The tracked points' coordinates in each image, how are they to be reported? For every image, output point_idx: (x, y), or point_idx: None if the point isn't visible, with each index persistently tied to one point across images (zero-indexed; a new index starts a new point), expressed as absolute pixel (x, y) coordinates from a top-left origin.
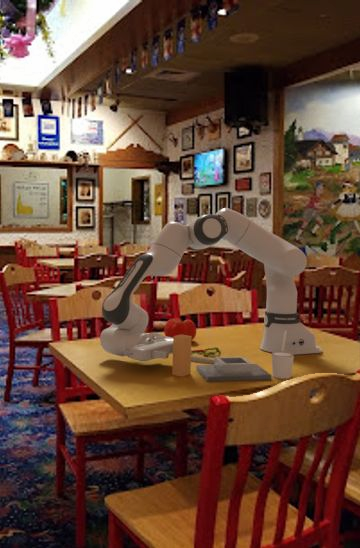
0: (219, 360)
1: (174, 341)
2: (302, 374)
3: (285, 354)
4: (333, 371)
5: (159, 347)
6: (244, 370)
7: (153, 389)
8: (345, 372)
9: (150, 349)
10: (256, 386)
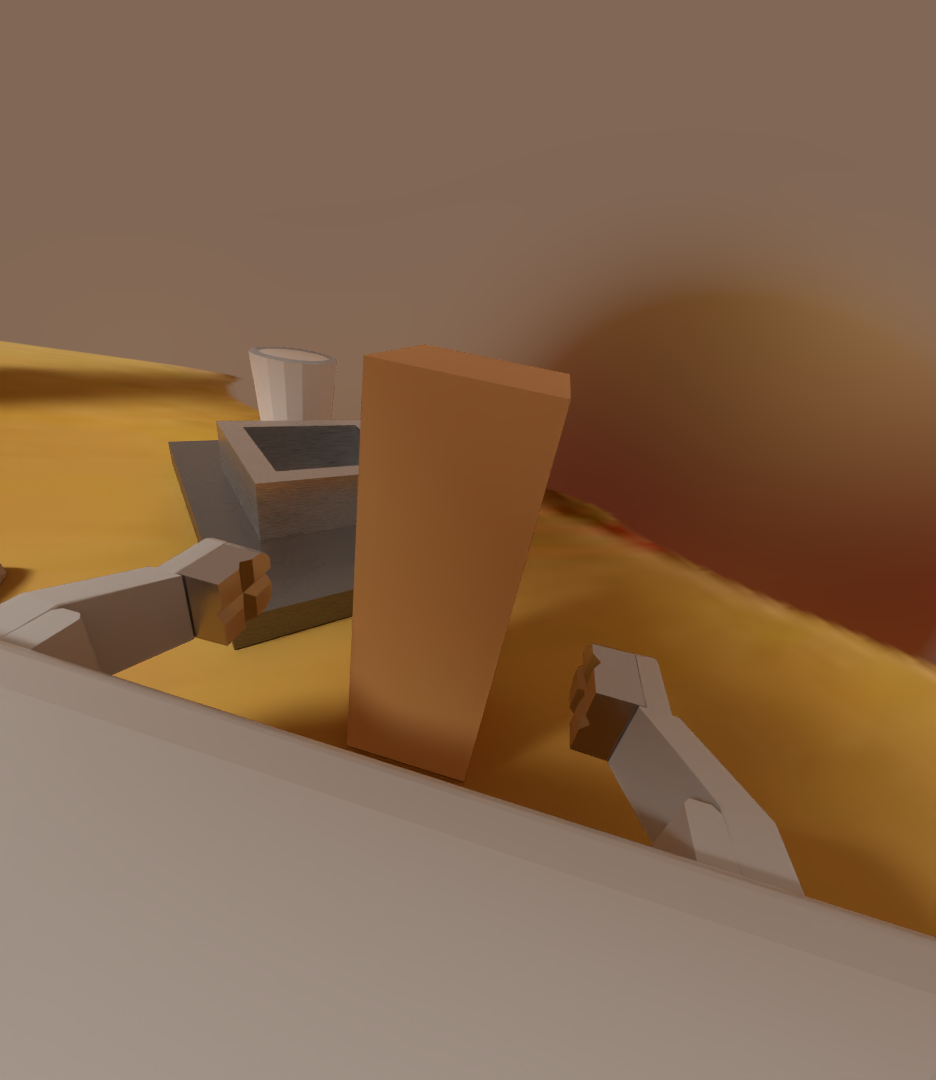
0: (343, 473)
1: (548, 471)
2: None
3: (292, 353)
4: (210, 383)
5: (514, 803)
6: None
7: (896, 772)
8: (220, 377)
9: (887, 924)
10: None
